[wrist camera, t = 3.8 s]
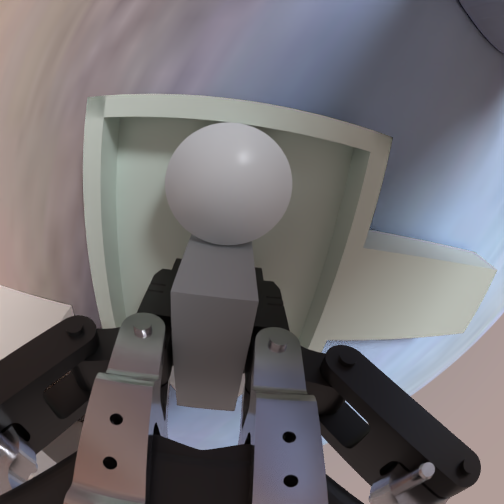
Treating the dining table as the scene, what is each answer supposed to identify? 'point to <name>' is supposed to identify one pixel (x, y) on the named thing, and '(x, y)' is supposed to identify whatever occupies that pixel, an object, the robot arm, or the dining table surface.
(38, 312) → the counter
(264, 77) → the dining table surface
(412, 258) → the tray
